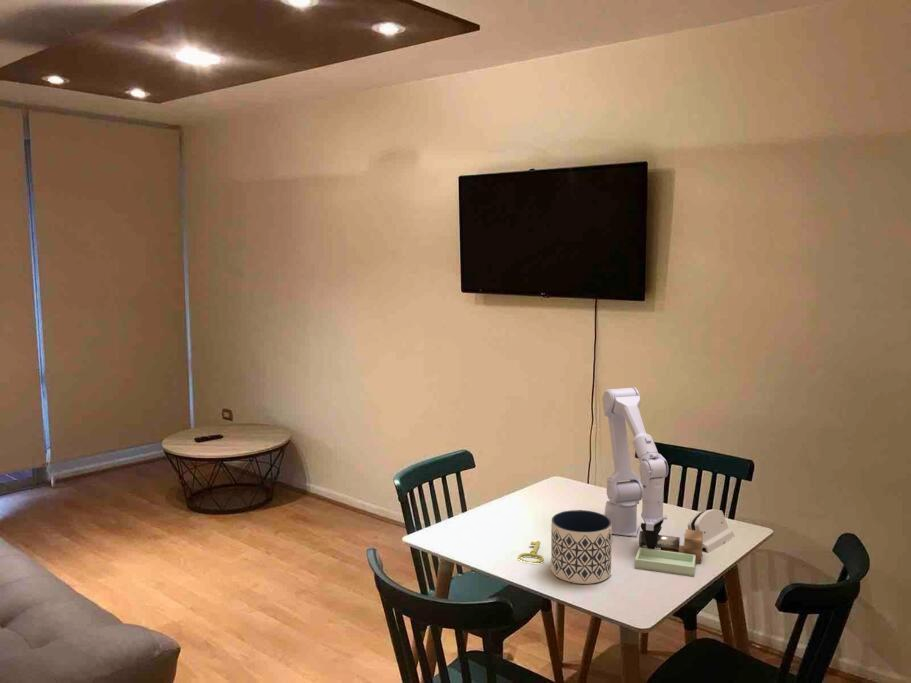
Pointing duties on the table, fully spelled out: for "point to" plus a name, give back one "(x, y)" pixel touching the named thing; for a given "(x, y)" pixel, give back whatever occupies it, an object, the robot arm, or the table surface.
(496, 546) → the table surface
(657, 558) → the tray
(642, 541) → the pin
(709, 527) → the white curved plastic device
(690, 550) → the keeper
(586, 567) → the planter
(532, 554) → the key
